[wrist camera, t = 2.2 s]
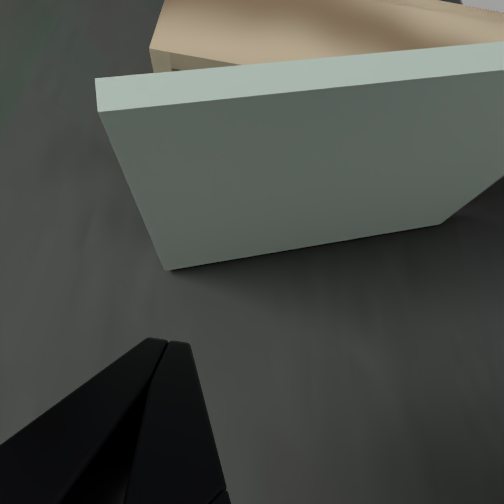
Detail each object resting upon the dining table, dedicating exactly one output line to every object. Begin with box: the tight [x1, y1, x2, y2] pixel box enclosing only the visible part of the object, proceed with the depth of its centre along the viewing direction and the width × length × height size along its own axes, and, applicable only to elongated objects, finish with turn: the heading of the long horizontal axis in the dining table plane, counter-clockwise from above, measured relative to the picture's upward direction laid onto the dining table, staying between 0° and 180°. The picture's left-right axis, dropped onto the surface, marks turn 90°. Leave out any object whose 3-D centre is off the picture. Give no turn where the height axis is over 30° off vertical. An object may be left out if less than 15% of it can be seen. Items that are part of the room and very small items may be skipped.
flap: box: [95, 41, 504, 271], centre depth 16 cm, size 1×16×12 cm, turn 102°
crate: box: [149, 0, 504, 73], centre depth 20 cm, size 6×16×8 cm, turn 82°
